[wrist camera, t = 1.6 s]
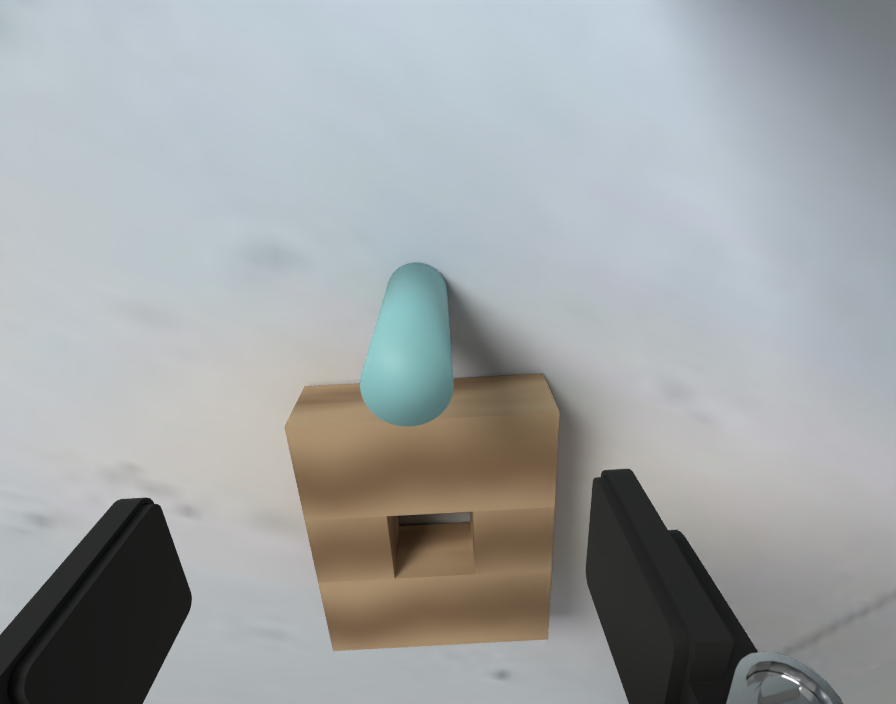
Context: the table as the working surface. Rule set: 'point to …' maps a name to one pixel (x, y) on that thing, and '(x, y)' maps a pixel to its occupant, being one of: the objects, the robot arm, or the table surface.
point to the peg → (410, 350)
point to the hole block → (430, 492)
